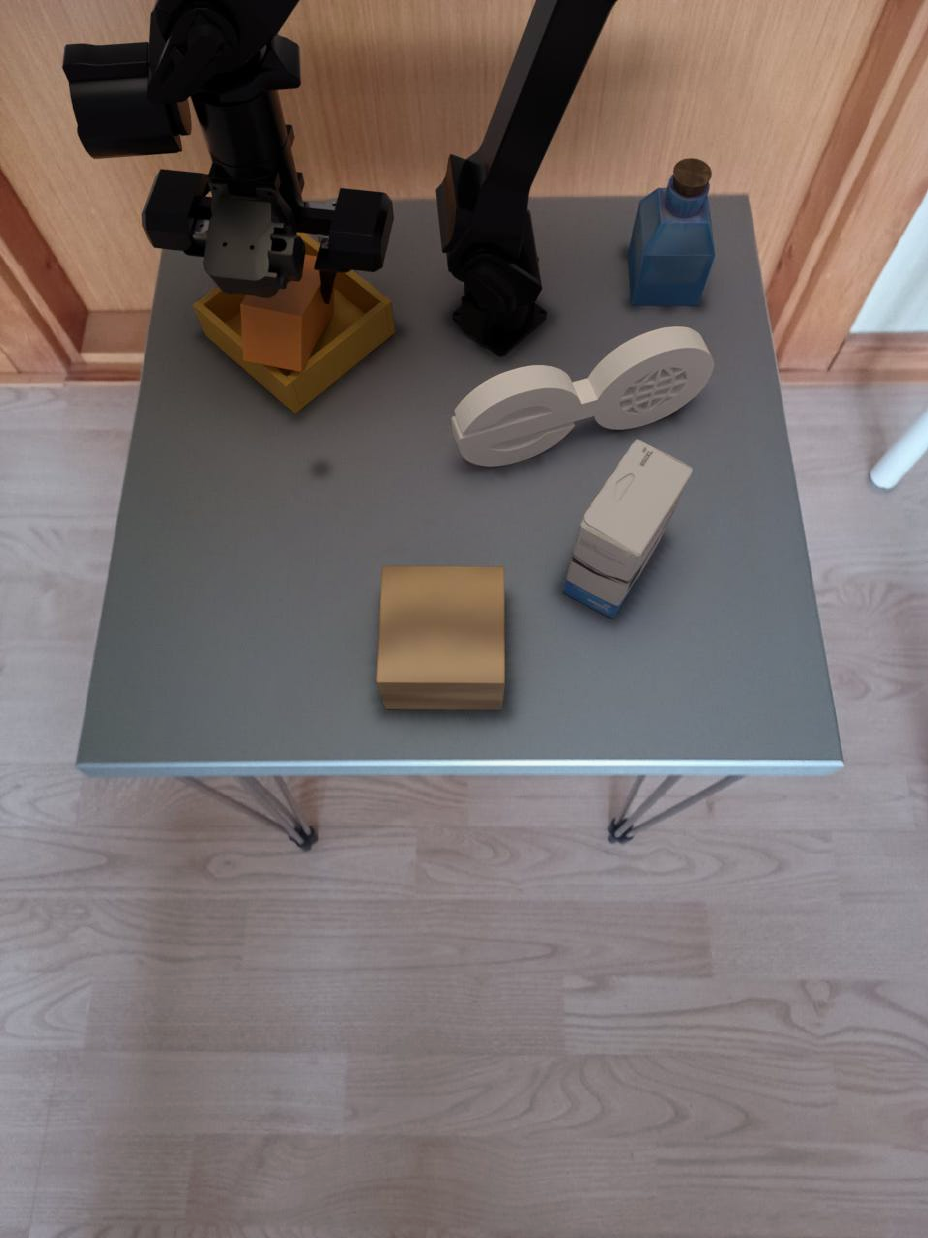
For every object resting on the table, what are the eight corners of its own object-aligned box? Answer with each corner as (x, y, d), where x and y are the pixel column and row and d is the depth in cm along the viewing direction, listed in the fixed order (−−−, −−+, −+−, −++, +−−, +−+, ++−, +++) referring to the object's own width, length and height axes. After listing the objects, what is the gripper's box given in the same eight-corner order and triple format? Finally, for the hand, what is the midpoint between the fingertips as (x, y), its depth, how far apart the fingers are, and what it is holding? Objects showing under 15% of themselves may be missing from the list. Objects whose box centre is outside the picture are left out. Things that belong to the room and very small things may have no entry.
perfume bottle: (698, 305, 81) (734, 201, 70) (631, 305, 81) (656, 200, 70) (692, 253, 83) (726, 144, 72) (627, 253, 83) (652, 144, 72)
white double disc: (687, 390, 78) (716, 312, 68) (696, 409, 77) (728, 333, 67) (452, 457, 75) (450, 386, 66) (460, 478, 74) (459, 410, 65)
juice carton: (279, 248, 77) (239, 303, 69) (335, 259, 77) (301, 315, 69) (280, 302, 80) (242, 360, 72) (333, 313, 80) (301, 372, 72)
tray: (305, 259, 83) (297, 226, 79) (395, 332, 80) (391, 301, 76) (205, 335, 80) (192, 304, 76) (295, 414, 77) (285, 385, 73)
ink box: (613, 622, 70) (640, 559, 59) (559, 592, 71) (576, 524, 60) (662, 540, 72) (697, 465, 61) (609, 512, 73) (634, 434, 62)
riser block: (390, 601, 70) (381, 565, 64) (501, 602, 70) (504, 565, 64) (385, 709, 67) (375, 682, 61) (501, 710, 67) (505, 683, 60)
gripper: (84, 210, 59) (161, 359, 73) (355, 239, 57) (379, 384, 72) (130, 93, 63) (195, 256, 77) (385, 119, 61) (402, 279, 76)
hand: (290, 295), depth 75 cm, fingers open, 6 cm apart
